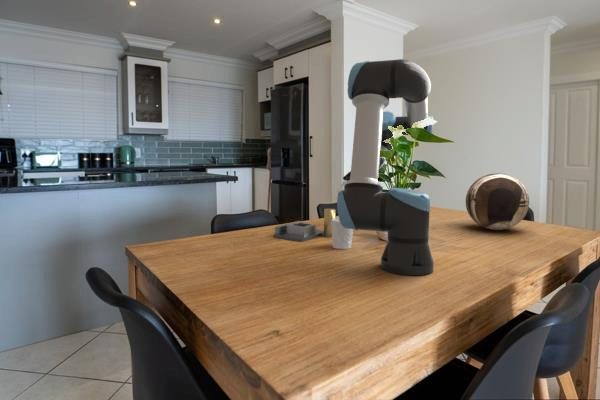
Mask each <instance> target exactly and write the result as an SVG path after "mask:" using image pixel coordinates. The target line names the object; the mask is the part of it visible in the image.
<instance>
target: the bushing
mask: <svg viewBox="0 0 600 400" xmlns="http://www.w3.org/2000/svg"><path fill="white" fill-rule="evenodd" d="M323 210H324V211H323V231H324V235H323V237H324V238H332V225H331V219H334V218H337V217H336V212H337V211H336V208H324V209H323Z"/></svg>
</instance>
